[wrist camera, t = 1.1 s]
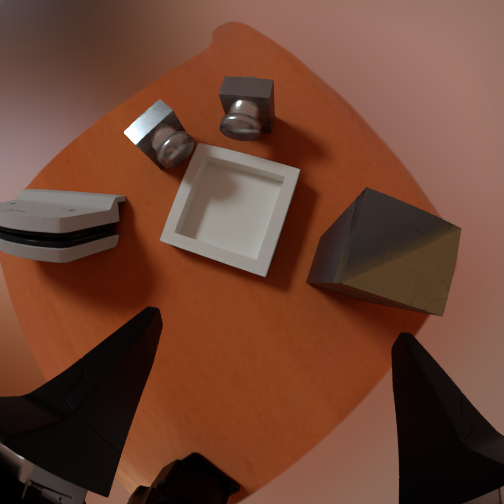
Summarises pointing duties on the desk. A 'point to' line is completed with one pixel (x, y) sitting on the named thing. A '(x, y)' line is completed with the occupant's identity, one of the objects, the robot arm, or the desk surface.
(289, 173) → the white square tray
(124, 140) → the desk surface
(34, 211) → the white electronic device
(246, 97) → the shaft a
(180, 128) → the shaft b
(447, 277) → the tan and grey block
